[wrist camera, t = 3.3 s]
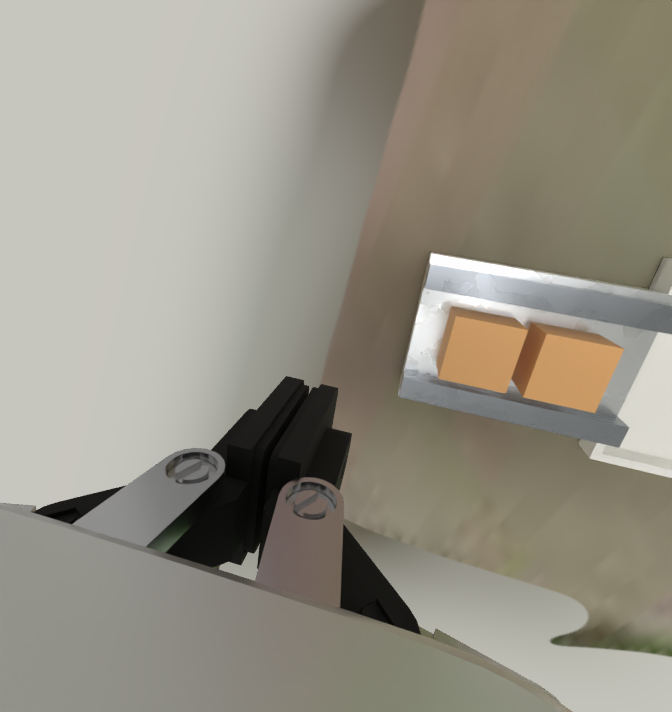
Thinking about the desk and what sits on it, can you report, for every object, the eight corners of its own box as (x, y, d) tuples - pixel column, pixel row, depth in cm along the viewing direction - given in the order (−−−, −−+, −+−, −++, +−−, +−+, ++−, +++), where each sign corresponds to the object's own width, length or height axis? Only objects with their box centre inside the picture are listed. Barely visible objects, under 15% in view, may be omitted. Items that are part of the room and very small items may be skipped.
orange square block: (599, 334, 22) (624, 348, 20) (574, 392, 24) (594, 413, 21) (531, 321, 23) (546, 333, 20) (510, 378, 24) (523, 397, 22)
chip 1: (515, 318, 23) (528, 330, 20) (495, 375, 25) (505, 393, 22) (451, 306, 24) (456, 316, 21) (436, 362, 25) (438, 378, 22)
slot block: (645, 288, 24) (694, 300, 20) (585, 420, 27) (615, 454, 23) (430, 251, 26) (432, 255, 22) (399, 378, 29) (397, 403, 25)
